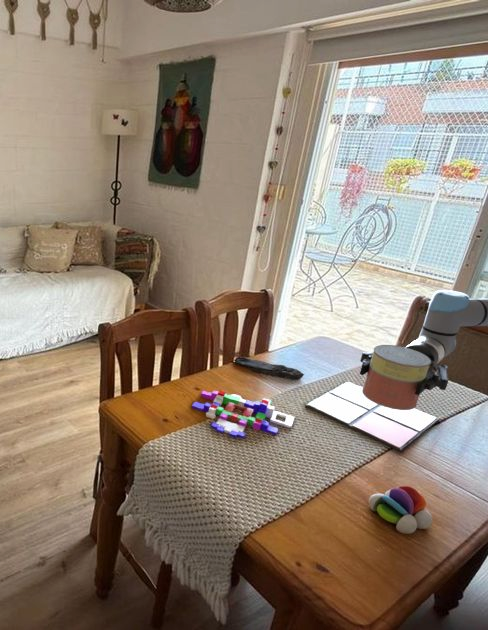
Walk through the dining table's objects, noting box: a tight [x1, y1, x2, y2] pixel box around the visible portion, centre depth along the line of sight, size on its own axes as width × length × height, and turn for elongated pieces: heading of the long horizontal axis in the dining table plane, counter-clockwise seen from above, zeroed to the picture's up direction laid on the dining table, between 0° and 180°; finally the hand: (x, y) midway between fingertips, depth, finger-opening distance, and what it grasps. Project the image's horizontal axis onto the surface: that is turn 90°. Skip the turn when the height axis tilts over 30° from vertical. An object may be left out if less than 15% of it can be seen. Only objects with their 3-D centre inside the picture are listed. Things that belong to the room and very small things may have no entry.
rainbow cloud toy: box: [368, 485, 433, 535], centre depth 87 cm, size 8×10×7 cm
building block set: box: [191, 390, 295, 439], centre depth 120 cm, size 25×20×4 cm
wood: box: [230, 356, 305, 381], centre depth 145 cm, size 22×7×3 cm, turn 55°
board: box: [304, 381, 440, 453], centre depth 122 cm, size 24×24×1 cm
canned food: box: [362, 344, 431, 410], centre depth 108 cm, size 11×11×12 cm
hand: (389, 379), depth 105 cm, fingers closed on canned food, 11 cm apart
